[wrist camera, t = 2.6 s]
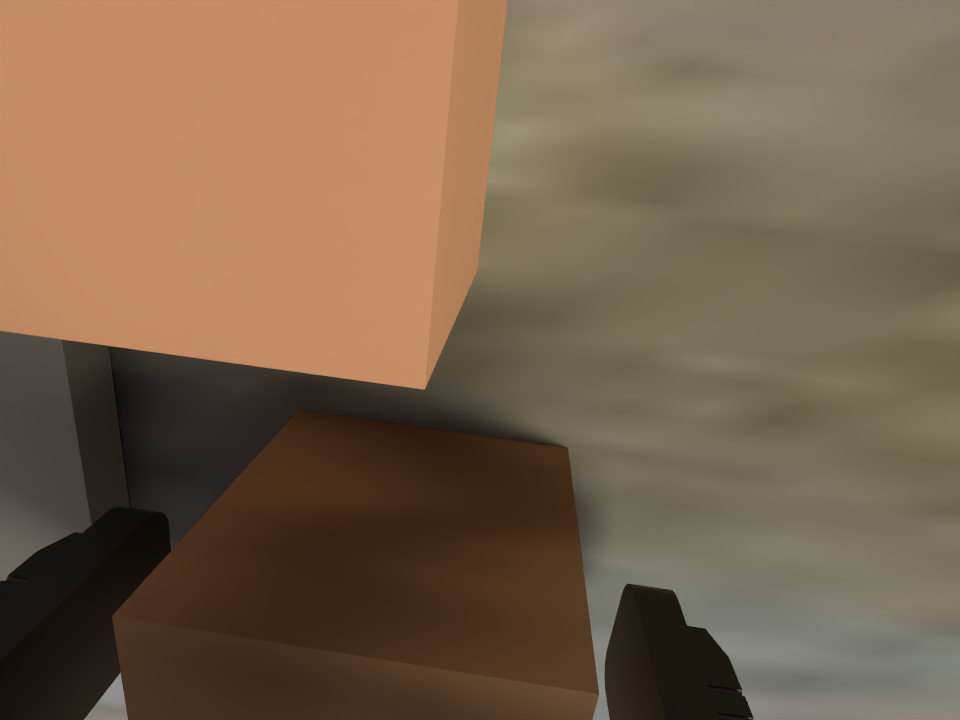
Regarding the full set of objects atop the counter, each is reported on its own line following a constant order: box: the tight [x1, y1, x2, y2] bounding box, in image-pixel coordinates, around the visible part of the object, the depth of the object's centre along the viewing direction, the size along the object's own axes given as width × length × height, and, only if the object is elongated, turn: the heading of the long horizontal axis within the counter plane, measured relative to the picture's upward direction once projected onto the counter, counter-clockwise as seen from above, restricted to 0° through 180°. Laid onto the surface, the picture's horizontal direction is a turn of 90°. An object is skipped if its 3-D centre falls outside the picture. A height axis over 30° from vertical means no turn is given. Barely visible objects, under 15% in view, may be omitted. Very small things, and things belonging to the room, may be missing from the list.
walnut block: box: [112, 410, 599, 720], centre depth 9 cm, size 5×5×5 cm
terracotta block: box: [0, 0, 508, 390], centre depth 6 cm, size 5×5×5 cm
